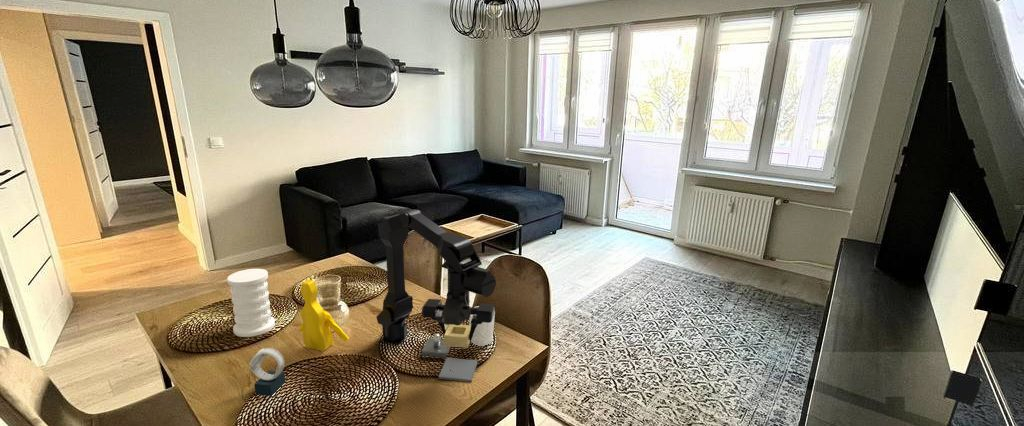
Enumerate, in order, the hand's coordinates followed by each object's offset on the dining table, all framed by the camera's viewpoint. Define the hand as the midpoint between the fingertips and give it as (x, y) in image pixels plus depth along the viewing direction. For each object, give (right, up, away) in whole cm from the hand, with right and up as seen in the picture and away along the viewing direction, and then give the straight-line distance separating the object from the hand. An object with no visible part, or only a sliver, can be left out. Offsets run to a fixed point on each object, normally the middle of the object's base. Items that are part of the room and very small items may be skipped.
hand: (458, 338), depth 118 cm
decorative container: (-68, -3, +21) cm, 71 cm away
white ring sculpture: (-47, -11, -7) cm, 49 cm away
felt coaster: (0, -9, +2) cm, 10 cm away
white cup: (+5, -6, +17) cm, 19 cm away
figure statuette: (-43, -6, +12) cm, 45 cm away
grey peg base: (-8, -7, +11) cm, 15 cm away
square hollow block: (0, 0, 0) cm, 1 cm away
